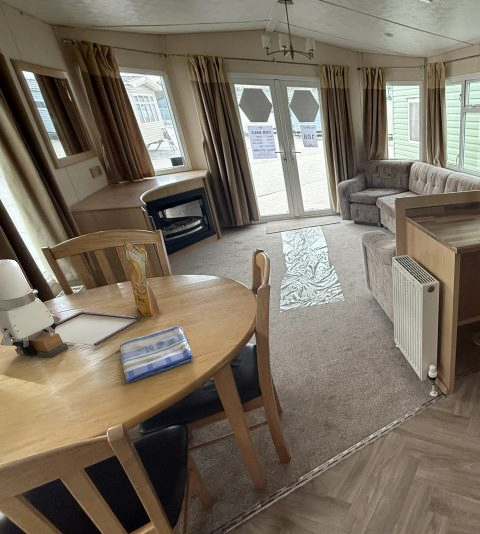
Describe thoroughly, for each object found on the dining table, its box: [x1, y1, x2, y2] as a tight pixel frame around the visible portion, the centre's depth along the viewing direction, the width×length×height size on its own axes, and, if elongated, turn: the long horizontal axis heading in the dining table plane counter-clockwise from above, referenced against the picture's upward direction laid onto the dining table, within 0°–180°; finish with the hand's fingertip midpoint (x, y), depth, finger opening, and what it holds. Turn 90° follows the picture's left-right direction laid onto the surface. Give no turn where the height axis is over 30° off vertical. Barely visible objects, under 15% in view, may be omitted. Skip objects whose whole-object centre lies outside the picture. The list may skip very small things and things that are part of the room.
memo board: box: [39, 310, 144, 347], centre depth 121 cm, size 26×17×2 cm, turn 83°
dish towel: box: [119, 325, 194, 384], centre depth 110 cm, size 17×24×3 cm
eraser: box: [11, 331, 69, 359], centre depth 107 cm, size 12×5×6 cm, turn 84°
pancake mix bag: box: [121, 239, 160, 317], centre depth 129 cm, size 7×19×28 cm, turn 51°
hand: (42, 349), depth 108 cm, fingers closed on eraser, 5 cm apart
